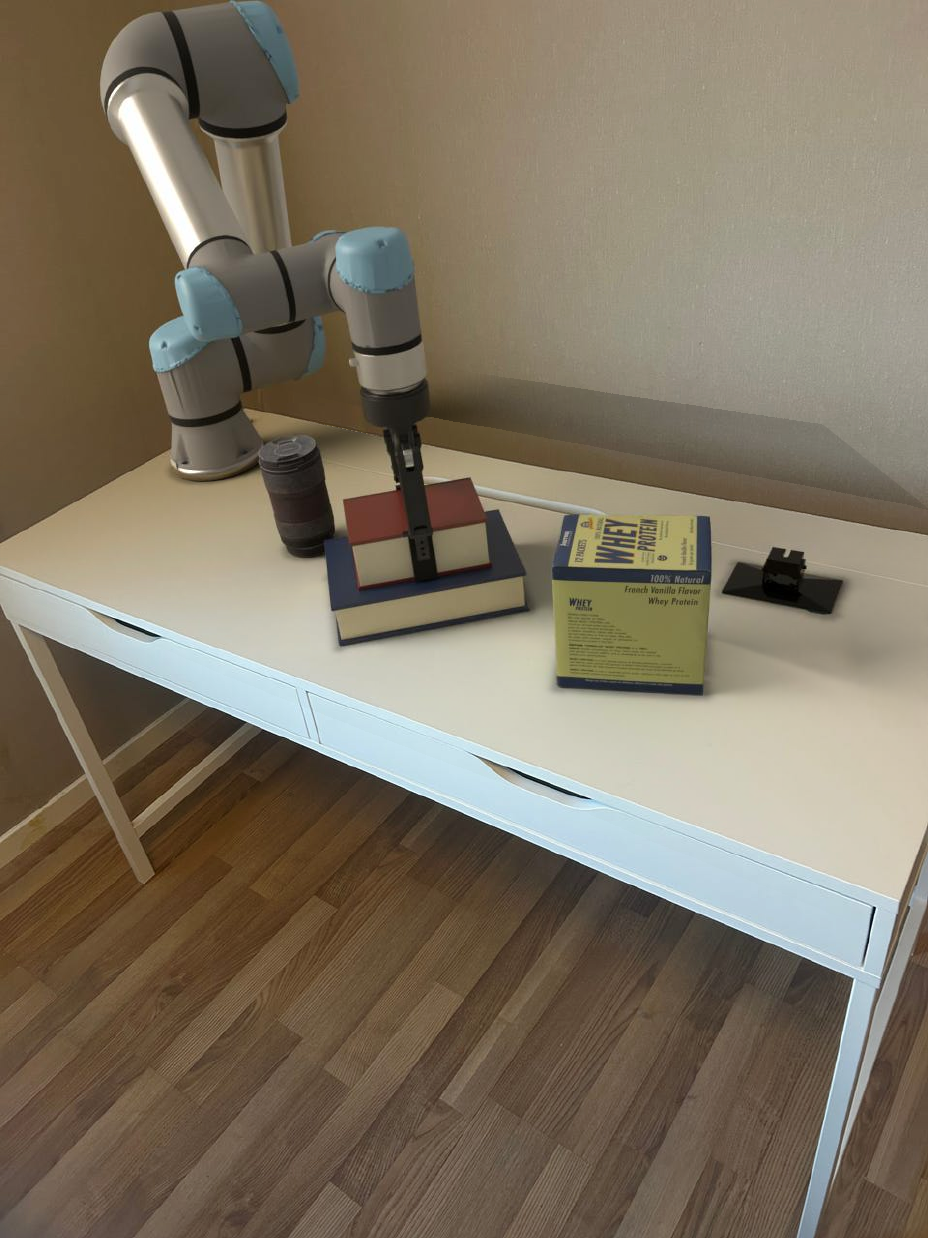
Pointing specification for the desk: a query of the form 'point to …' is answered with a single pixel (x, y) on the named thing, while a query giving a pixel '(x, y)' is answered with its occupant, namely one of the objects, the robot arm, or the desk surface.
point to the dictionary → (386, 550)
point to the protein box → (632, 602)
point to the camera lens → (298, 493)
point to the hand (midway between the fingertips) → (419, 553)
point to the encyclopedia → (425, 592)
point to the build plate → (784, 583)
